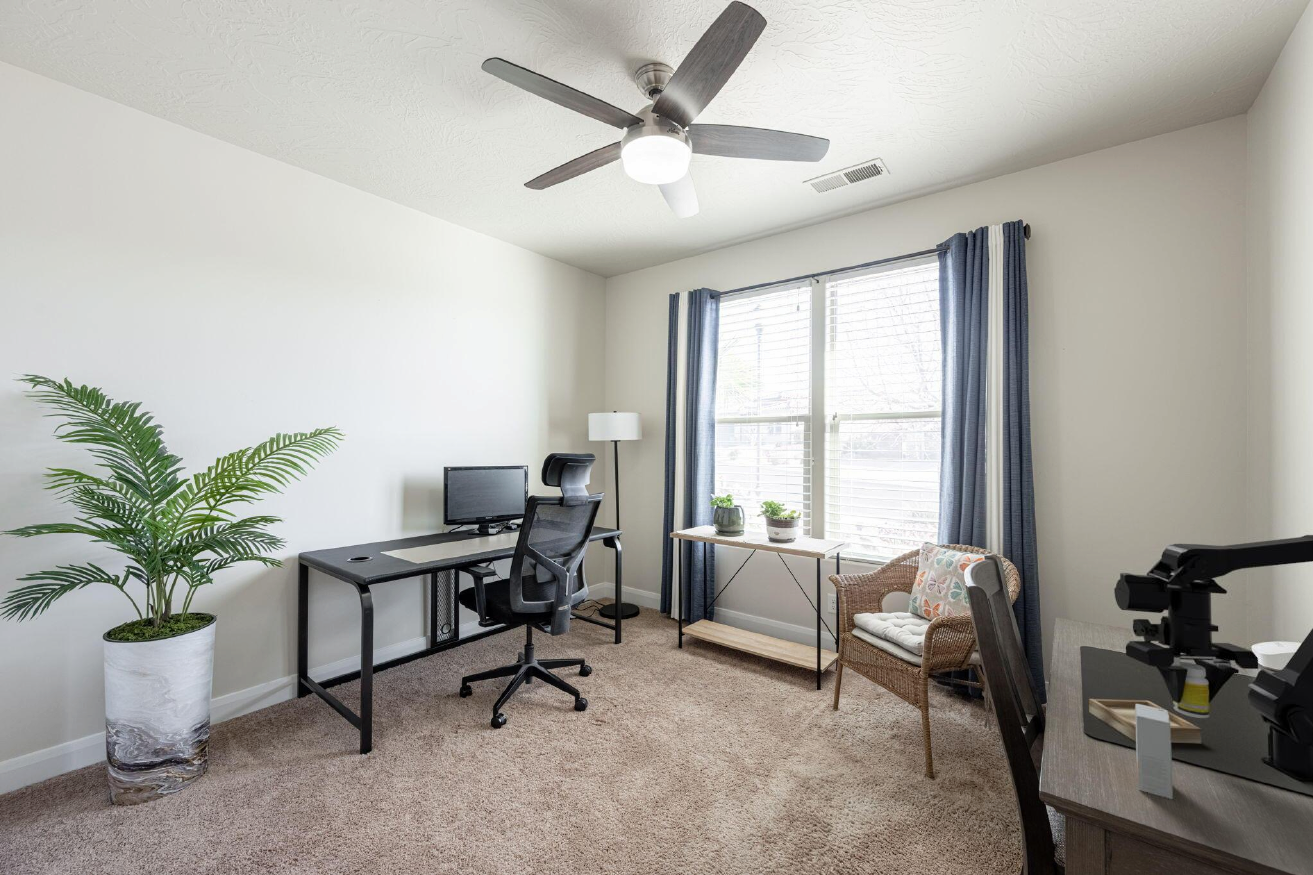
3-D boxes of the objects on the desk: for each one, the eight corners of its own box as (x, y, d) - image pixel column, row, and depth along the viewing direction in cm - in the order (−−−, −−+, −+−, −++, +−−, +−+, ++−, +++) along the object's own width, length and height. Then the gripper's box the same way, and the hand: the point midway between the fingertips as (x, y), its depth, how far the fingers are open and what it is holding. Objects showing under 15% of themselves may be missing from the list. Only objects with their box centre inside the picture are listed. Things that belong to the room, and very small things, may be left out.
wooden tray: (1201, 745, 105) (1201, 728, 105) (1135, 743, 106) (1134, 726, 106) (1148, 715, 117) (1148, 700, 117) (1089, 714, 118) (1089, 698, 118)
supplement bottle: (1217, 720, 98) (1215, 671, 98) (1185, 717, 99) (1184, 669, 99) (1196, 708, 103) (1195, 661, 103) (1166, 705, 104) (1165, 659, 104)
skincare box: (1136, 773, 95) (1134, 702, 95) (1170, 783, 92) (1168, 709, 92) (1137, 790, 90) (1135, 715, 91) (1173, 800, 87) (1171, 723, 88)
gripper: (1201, 604, 109) (1202, 685, 109) (1102, 602, 110) (1103, 682, 109) (1260, 621, 98) (1262, 711, 97) (1150, 619, 99) (1152, 708, 98)
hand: (1191, 702), depth 101 cm, fingers closed on supplement bottle, 5 cm apart
